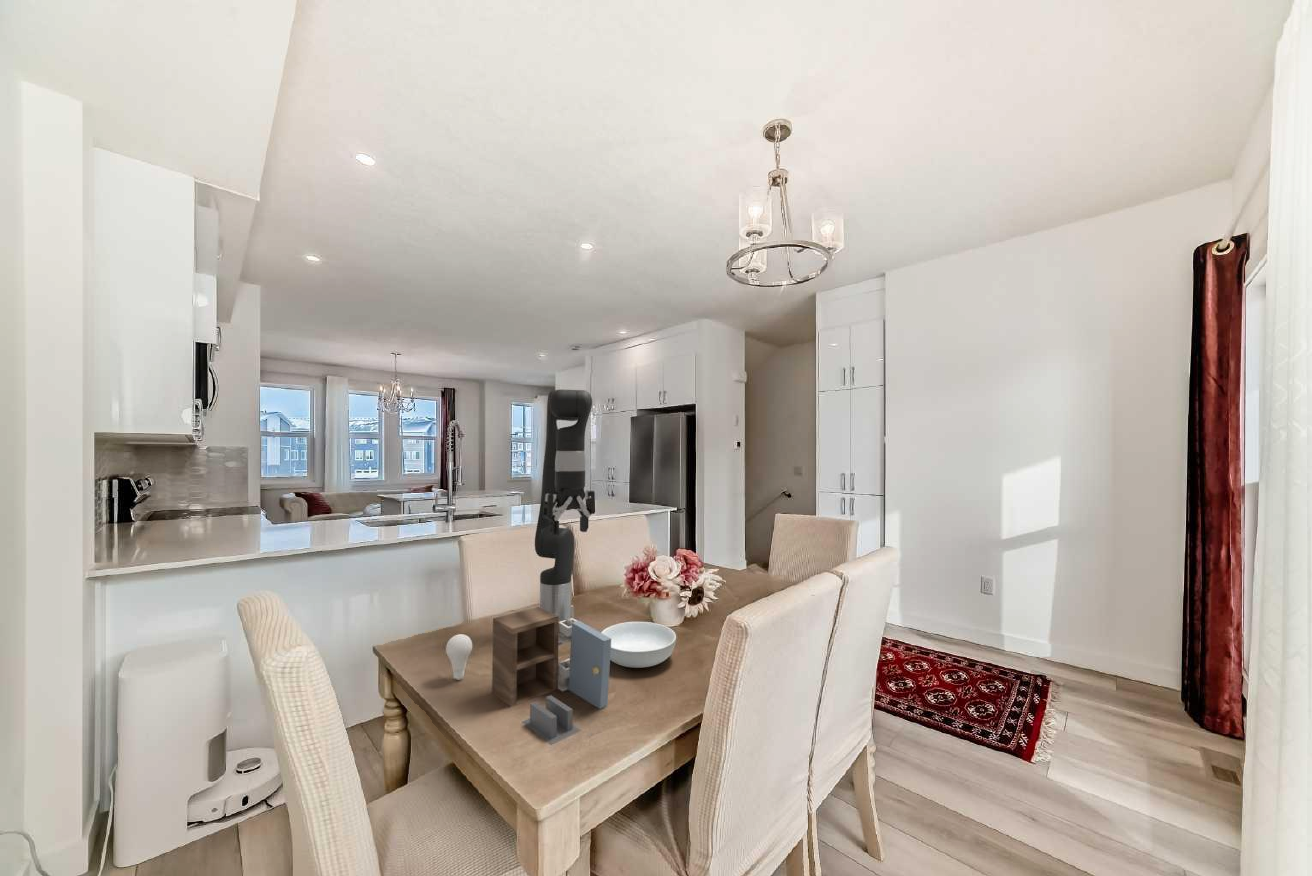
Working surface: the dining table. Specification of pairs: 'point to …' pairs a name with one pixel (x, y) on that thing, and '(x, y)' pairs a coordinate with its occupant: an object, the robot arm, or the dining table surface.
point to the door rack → (551, 720)
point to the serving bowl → (640, 643)
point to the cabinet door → (587, 662)
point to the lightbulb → (459, 653)
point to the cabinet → (527, 655)
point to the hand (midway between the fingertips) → (569, 533)
